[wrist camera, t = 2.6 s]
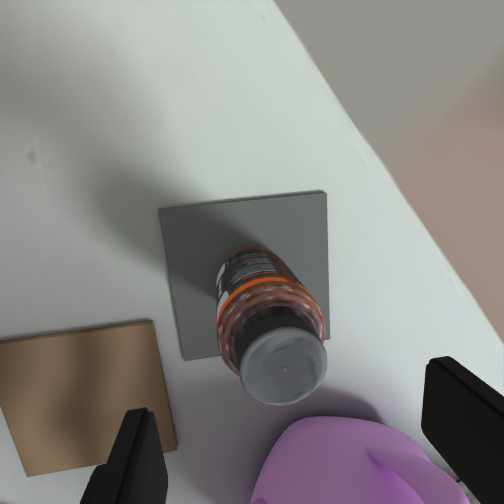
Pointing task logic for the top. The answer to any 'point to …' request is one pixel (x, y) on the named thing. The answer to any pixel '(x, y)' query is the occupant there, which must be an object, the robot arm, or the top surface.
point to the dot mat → (232, 240)
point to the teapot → (351, 467)
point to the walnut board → (80, 393)
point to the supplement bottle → (269, 328)
